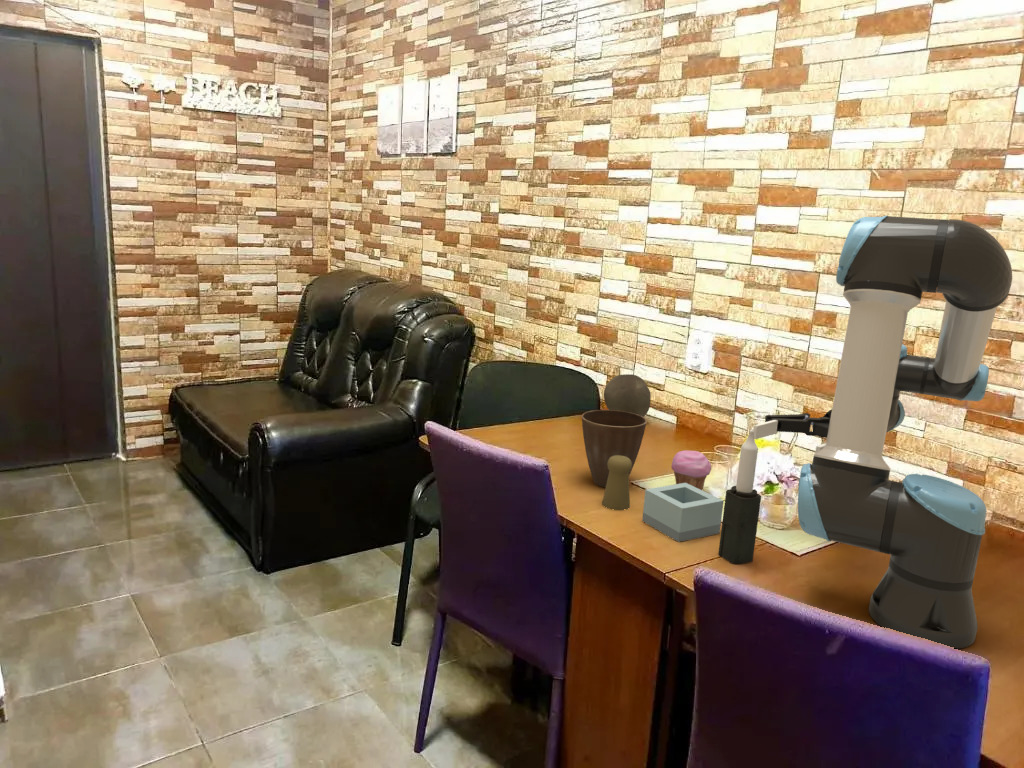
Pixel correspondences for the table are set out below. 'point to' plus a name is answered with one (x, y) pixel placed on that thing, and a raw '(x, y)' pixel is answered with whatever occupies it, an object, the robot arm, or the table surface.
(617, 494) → the olive pawn
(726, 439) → the table surface
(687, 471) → the cupcake
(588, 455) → the plant pot
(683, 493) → the holder
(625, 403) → the dark grey round ball
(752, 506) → the candle
